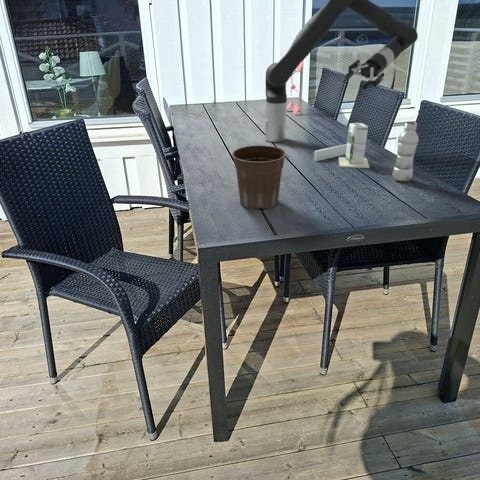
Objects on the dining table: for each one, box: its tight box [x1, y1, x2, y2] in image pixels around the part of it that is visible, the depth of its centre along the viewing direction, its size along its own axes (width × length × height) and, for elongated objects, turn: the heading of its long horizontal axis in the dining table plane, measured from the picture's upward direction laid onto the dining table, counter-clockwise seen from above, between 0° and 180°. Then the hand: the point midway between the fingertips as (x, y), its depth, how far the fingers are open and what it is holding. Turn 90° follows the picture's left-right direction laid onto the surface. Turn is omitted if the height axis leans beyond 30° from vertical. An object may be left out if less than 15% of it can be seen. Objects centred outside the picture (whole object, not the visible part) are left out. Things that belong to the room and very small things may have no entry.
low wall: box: [313, 143, 347, 162], centre depth 175 cm, size 22×1×4 cm, turn 122°
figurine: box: [286, 48, 304, 118], centre depth 242 cm, size 15×26×35 cm, turn 16°
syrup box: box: [344, 122, 369, 164], centre depth 164 cm, size 6×6×14 cm
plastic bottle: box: [392, 121, 419, 182], centre depth 145 cm, size 6×7×20 cm
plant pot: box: [231, 144, 287, 210], centre depth 131 cm, size 16×16×16 cm
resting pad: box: [337, 156, 370, 169], centre depth 168 cm, size 11×11×1 cm
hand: (354, 83), depth 172 cm, fingers open, 8 cm apart
